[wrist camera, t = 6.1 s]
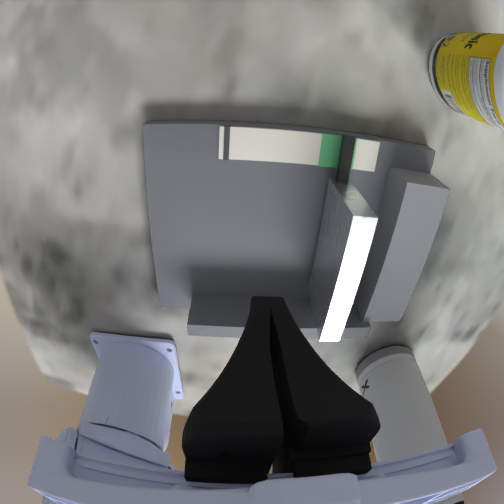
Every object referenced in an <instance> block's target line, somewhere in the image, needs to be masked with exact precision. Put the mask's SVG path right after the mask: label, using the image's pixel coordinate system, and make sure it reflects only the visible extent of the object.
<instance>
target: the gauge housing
mask: <svg viewBox="0 0 504 504" xmlns="http://www.w3.org/2000/svg"><path fill="white" fill-rule="evenodd" d="M342 134H344V135H351V136H354V137H355V138H356V141H355V147H354V153H353V159H352V164H351V170H350V175H349V180H350V181H351V182H352V184H353V185H354V186H355V188H356V189H357V190H358V191H359V193H360V194H361V195H362V197H363V198H364V199H365V201H366V202H367V203H368V205H369V206H370V207H371V209H372V210H373V211H374V213H375V214H376V216H377V217H378V220H377V224H376V228H375V232H374V235H373V239H372V242H371V246H370V249H369V253H368V256H367V259H366V263H365V266H364V269H363V273H362V276H361V279H360V282H359V285H358V288H357V291H356V294H355V297H354V300H353V303H352V306H351V309H350V312H349V315H348V318H347V321H346V324H345V326H344V329H343V332H342V335H341V337H340V338H361V337H367V335H368V333H369V331H370V328H371V326H370V324H369V322H386V321H400V320H401V318H402V316H403V313H404V311H405V309H406V307H407V305H408V302H409V300H410V298H411V296H412V293H413V291H414V289H415V286H416V284H417V282H418V279H419V277H420V275H421V272H422V270H423V267H424V265H425V262H426V260H427V257H428V254H429V252H430V249H431V246H432V244H433V241H434V238H435V235H436V232H437V230H438V227H439V224H440V221H441V218H442V215H443V212H444V209H445V205H446V202H447V199H448V196H449V192H450V189H449V188H448V187H447V186H445V185H444V184H443V183H442V182H440V181H439V180H438V179H437V178H435V177H434V176H433V175H431V174H430V172H431V168H432V164H433V160H434V155H435V150H433V149H431V148H430V147H428V146H424V145H419V144H415V143H410V142H405V141H400V140H395V139H389V138H384V137H378V136H372V135H366V134H360V133H353V132H346V131H339V130H332V129H324V128H315V127H306V126H296V125H285V124H273V123H258V122H239V121H207V120H171V121H147V122H146V123H144V124H143V146H144V164H145V179H146V193H147V204H148V215H149V225H150V234H151V243H152V252H153V260H154V267H155V275H156V282H157V289H158V295H159V302H160V307H168V308H183V309H190V311H189V317H188V323H187V328H188V335H194V336H211V337H233V338H241V335H242V333H243V331H244V328H245V325H246V322H247V319H248V315H249V312H250V303H251V298H252V297H253V296H271V297H283V298H284V300H285V302H286V304H287V306H288V308H289V310H290V312H291V314H292V316H293V318H294V320H295V322H296V323H297V325H298V327H299V328H300V330H301V332H302V333H303V335H304V336H305V338H306V339H319V337H318V333H317V328H316V324H315V319H314V315H313V310H312V306H311V302H310V297H309V293H308V285H309V281H310V276H311V271H312V266H313V261H314V257H315V252H316V246H317V241H318V236H319V231H320V226H321V220H322V215H323V209H324V204H325V198H326V192H327V186H328V180H329V177H331V178H336V172H337V166H338V160H339V154H340V148H341V141H342Z"/></svg>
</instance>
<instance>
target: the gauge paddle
mask: <svg viewBox="0 0 504 504" xmlns="http://www.w3.org/2000/svg"><path fill="white" fill-rule="evenodd" d="M355 141H356V138H355V137H354V136H351V135H344V134H342V141H341V148H340V154H339V160H338V166H337V172H336V178H331V177H329V180H328V186H327V192H326V198H325V204H324V209H323V215H322V220H321V226H320V231H319V236H318V241H317V246H316V252H315V257H314V261H313V266H312V271H311V276H310V281H309V285H308V293H309V297H310V302H311V306H312V310H313V315H314V319H315V324H316V328H317V333H318V337H319V342H321V341H339V340H340V337H341V335H342V332H343V329H344V326H345V324H346V321H347V318H348V315H349V312H350V309H351V306H352V303H353V300H354V297H355V294H356V291H357V288H358V285H359V282H360V279H361V276H362V273H363V269H364V266H365V263H366V259H367V256H368V253H369V249H370V246H371V242H372V239H373V235H374V232H375V228H376V224H377V220H378V217H377V216H376V214H375V213H374V211H373V210H372V209H371V207H370V206H369V205H368V203H367V202H366V201H365V199H364V198H363V197H362V195H361V194H360V193H359V191H358V190H357V189H356V188H355V186H354V185H353V184H352V182H351V181H350V180H349V175H350V170H351V164H352V159H353V153H354V147H355Z"/></svg>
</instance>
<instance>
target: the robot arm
mask: <svg viewBox="0 0 504 504" xmlns="http://www.w3.org/2000/svg"><path fill="white" fill-rule="evenodd" d="M90 339H91V342H92V344H93V347H94V349H95V352H96V354H97V356H98V359H99V363H98V366H97V369H96V372H95V375H94V377H93V380H92V383H91V387H90V390H89V393H88V396H87V399H86V402H85V405H84V409H83V412H82V415H81V418H80V422H79V426H78V427H77V428H76V429H75V428H73V427H71V426H69V427H68V428H66V429H63V430H61V431H60V433H59V435H58V438H57V440H56V439H53V438H49V437H46V436H41V439H40V442H39V445H38V449H37V452H36V455H35V458H34V462H33V466H32V469H31V473H30V477H29V481H28V486H29V487H30V488H32V489H33V490H35V491H37V492H38V493H40V494H42V495H43V498H42V503H43V504H432V503H435V502H438V501H440V500H443V499H445V498H448V497H450V496H453V495H455V494H458V493H460V492H462V491H465V490H467V489H468V488H470V487H472V486H474V485H475V484H477V483H478V482H480V481H482V480H483V479H485V478H486V477H488V476H489V475H491V474H492V473H494V472H495V471H496V470H497V468H496V465H495V462H494V460H493V457H492V454H491V451H490V448H489V446H488V443H487V441H486V438H485V435H484V433H483V430H482V429H477V430H474V431H472V432H469V433H466V434H463V435H462V436H460V437H459V438H457V439H456V440H455V441H454V443H452V444H449V445H445V446H442V447H439V448H435V449H432V450H428V451H425V452H421V453H417V454H413V455H409V456H405V457H400V458H396V459H391V460H386V461H381V462H376V463H371V461H370V457H369V452H370V451H371V447H370V443H369V442H370V441H371V440H372V439H373V438H374V437H375V436H376V434H377V433H378V432H379V430H380V428H381V424H380V421H379V417H378V415H377V412H376V410H375V408H374V405H373V404H372V403H371V402H370V401H368V400H367V399H365V398H364V397H362V396H361V395H359V394H358V393H357V392H355V391H354V390H353V389H352V388H350V387H349V386H348V385H347V384H346V383H345V382H343V381H342V380H341V379H340V378H339V377H338V376H337V375H336V374H335V373H334V372H333V371H332V370H331V369H330V368H329V367H328V366H327V365H326V364H325V363H324V361H323V360H322V359H321V358H320V357H319V355H318V354H317V353H316V352H315V350H314V349H313V348H312V346H311V345H310V344H309V342H308V341H307V339H306V338H305V336H304V335H303V333H302V332H301V330H300V328H299V327H298V325H297V323H296V322H295V320H294V318H293V316H292V314H291V312H290V310H289V308H288V306H287V304H286V302H285V300H284V298H283V297H271V296H253V297H252V298H251V303H250V312H249V315H248V319H247V322H246V325H245V328H244V331H243V333H242V335H241V338H240V340H239V342H238V345H237V347H236V349H235V351H234V353H233V354H232V356H231V358H230V360H229V362H228V363H227V365H226V366H225V368H224V370H223V371H222V373H221V374H220V376H219V377H218V379H217V380H216V381H215V382H214V384H213V385H212V386H211V388H210V389H209V390H208V391H207V393H206V394H205V395H204V396H203V397H202V398H201V399H200V400H199V402H198V403H197V404H196V405H195V406H194V407H193V409H192V411H191V413H190V415H189V417H188V419H187V422H186V424H185V427H184V430H183V436H182V449H183V452H184V455H185V457H186V461H185V471H180V470H177V469H176V468H175V467H174V466H173V465H171V464H169V463H170V454H169V453H166V452H165V450H166V448H167V446H168V441H169V433H170V426H171V418H172V411H173V404H174V399H183V398H184V391H183V386H182V381H181V376H180V370H179V364H178V359H177V353H176V347H175V343H174V342H173V341H172V340H167V339H155V338H145V337H135V336H125V335H116V334H108V333H100V332H91V333H90ZM272 463H273V473H272V474H268V473H269V470H270V468H271V465H272Z"/></svg>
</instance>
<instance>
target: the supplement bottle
mask: <svg viewBox="0 0 504 504" xmlns="http://www.w3.org/2000/svg"><path fill="white" fill-rule="evenodd" d="M429 73H430V79H431V82H432V86H433V88H434V90H435V92H436V94H437V95H438V97H439V98H440V100H441V101H442V102H443V103H444V104H445V105H446V106H448V107H449V108H450V109H452V110H454V111H456V112H458V113H461V114H463V115H466V116H468V117H471V118H474V119H476V120H479V121H481V122H483V123H486V124H488V125H491V126H493V127H495V128H498V129H500V130H502V131H504V34H494V33H493V34H491V33H453V34H448V35H446V36H444V37H442V38H441V39H440V40H438V41H437V43H436V44H435V45H434V47H433V49H432V51H431V54H430V60H429Z"/></svg>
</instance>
